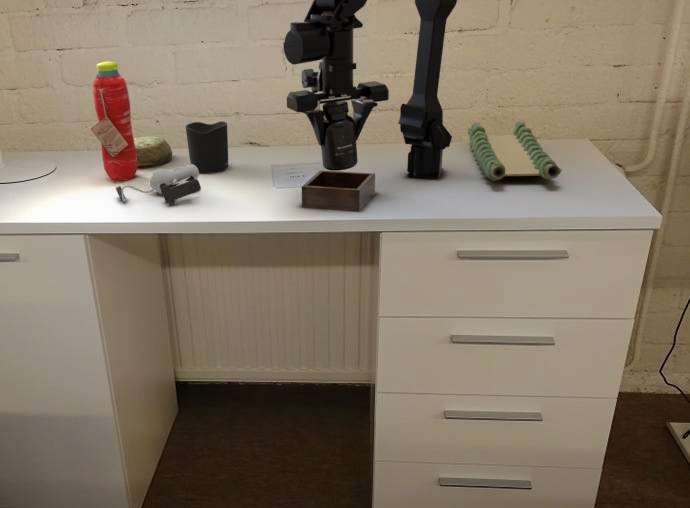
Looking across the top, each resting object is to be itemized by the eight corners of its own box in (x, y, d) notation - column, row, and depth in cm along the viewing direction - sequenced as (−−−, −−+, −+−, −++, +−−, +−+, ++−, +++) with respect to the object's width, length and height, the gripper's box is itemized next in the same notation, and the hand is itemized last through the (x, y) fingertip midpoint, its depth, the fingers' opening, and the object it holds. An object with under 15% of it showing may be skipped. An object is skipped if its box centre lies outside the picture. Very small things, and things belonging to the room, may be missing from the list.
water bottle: (125, 187, 171) (108, 67, 159) (92, 186, 173) (73, 68, 161) (146, 172, 181) (132, 58, 169) (115, 171, 183) (99, 59, 171)
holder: (374, 193, 157) (375, 173, 155) (359, 211, 148) (359, 190, 146) (320, 189, 162) (320, 170, 160) (301, 207, 152) (301, 186, 150)
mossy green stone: (105, 165, 188) (102, 144, 186) (142, 152, 198) (139, 132, 195) (148, 171, 181) (145, 150, 179) (183, 157, 191) (181, 136, 188)
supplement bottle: (346, 172, 148) (340, 108, 142) (316, 170, 152) (309, 108, 146) (364, 160, 152) (359, 98, 146) (335, 159, 156) (328, 98, 150)
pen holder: (206, 177, 175) (202, 131, 170) (181, 169, 181) (177, 126, 176) (238, 167, 180) (235, 123, 175) (213, 161, 186) (209, 118, 181)
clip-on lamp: (120, 223, 159) (203, 198, 157) (108, 195, 155) (194, 169, 154) (123, 200, 169) (202, 176, 167) (113, 173, 165) (193, 149, 163)
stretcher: (561, 190, 152) (565, 165, 150) (486, 191, 154) (488, 167, 152) (526, 140, 187) (529, 119, 185) (465, 141, 189) (467, 120, 187)
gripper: (363, 46, 151) (363, 128, 159) (274, 57, 146) (278, 140, 154) (391, 53, 142) (389, 139, 150) (296, 64, 137) (299, 153, 145)
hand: (338, 142), depth 150 cm, fingers closed on supplement bottle, 7 cm apart
